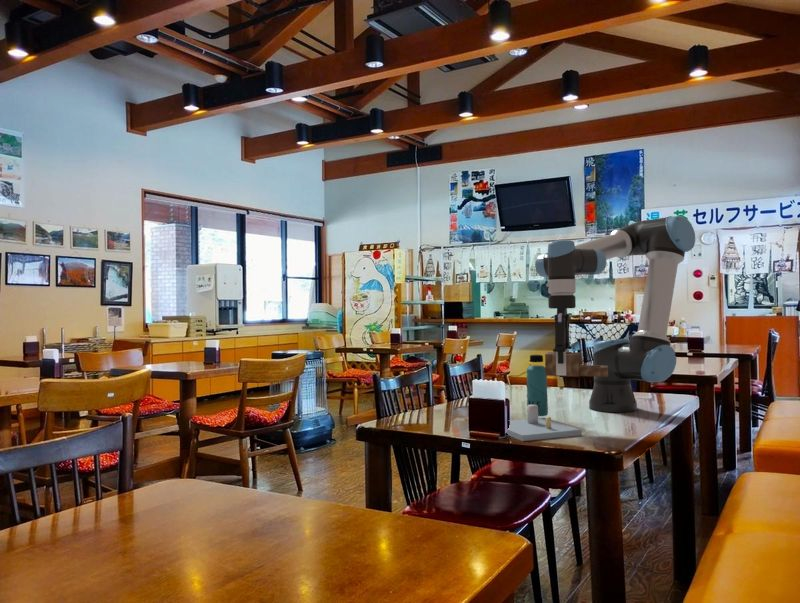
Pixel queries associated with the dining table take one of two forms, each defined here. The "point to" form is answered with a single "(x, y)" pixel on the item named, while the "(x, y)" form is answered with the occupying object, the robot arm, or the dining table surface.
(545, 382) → the beverage bottle
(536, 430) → the post board
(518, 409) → the dining table surface
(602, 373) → the stepped wooden block
